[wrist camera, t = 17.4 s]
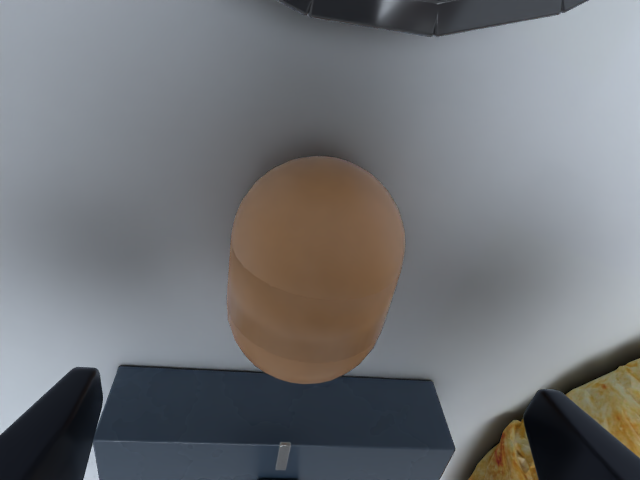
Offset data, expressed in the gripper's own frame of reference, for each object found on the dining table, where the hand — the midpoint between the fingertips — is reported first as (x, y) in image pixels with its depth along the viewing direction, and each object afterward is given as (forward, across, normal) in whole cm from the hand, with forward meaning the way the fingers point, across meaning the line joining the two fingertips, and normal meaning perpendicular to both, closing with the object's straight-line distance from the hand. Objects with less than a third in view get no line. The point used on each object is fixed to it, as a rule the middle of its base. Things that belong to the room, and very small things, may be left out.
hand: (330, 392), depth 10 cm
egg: (+6, 0, 0) cm, 6 cm away
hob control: (+6, 0, +10) cm, 12 cm away
